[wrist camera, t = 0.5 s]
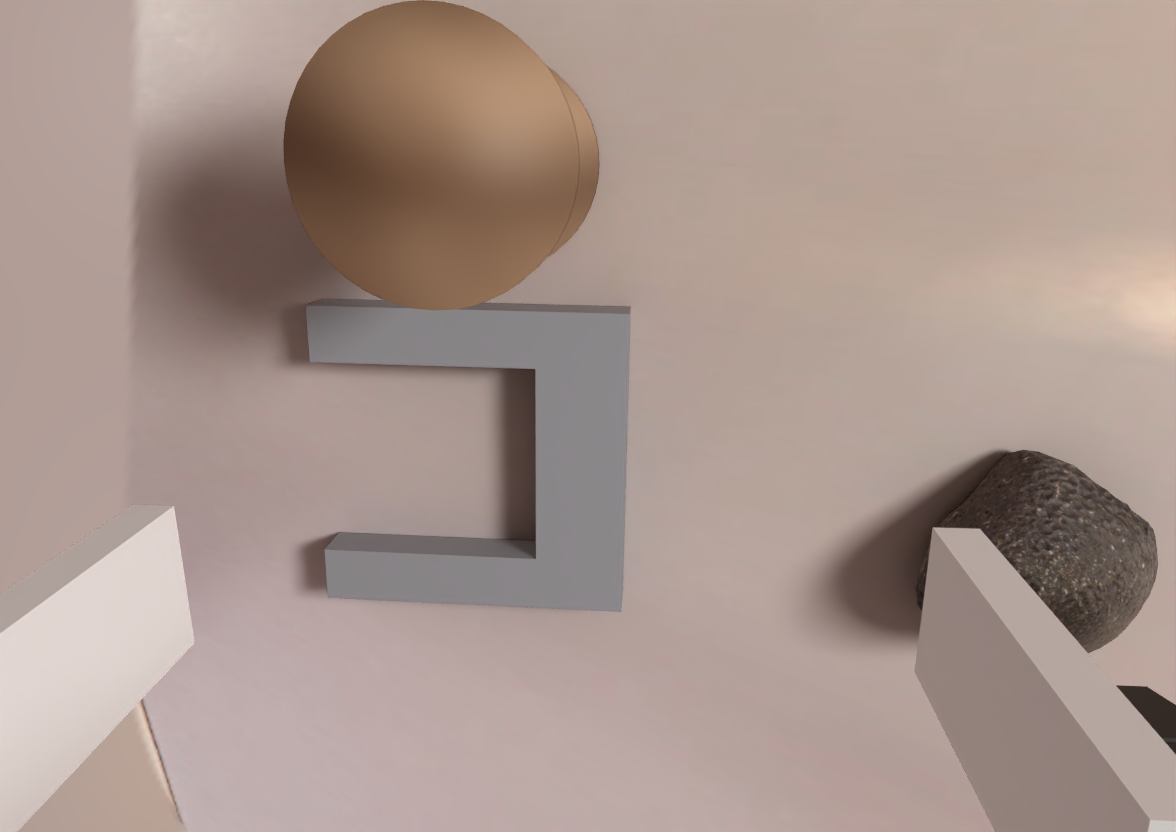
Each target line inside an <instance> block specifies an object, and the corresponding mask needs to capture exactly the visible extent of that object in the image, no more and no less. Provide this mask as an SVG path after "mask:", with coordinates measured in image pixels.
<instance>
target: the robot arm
mask: <svg viewBox="0 0 1176 832" xmlns="http://www.w3.org/2000/svg"><path fill="white" fill-rule="evenodd" d="M194 643H195V642H194V636H193V629H192V623H191V616H190V609H189V603H188V596H187V589H186V583H185V576H184V570H183V563H182V556H181V550H180V543H179V536H178V530H177V523H176V517H175V510H174V506H160V505H131V506H130V507H128V508H127V509H125V510H124V511H122V512H121V513H119V514H118V515H116V516H115V517H113V518H112V519H110V520H109V521H108V522H106V523H105V524H103V525H102V526H100V527H99V528H97V529H96V530H94V531H93V532H91V533H90V534H88V535H87V536H85V537H84V538H82V539H81V540H79V541H78V542H76V543H75V544H73V545H72V546H70V547H69V548H68V549H66V550H64V551H63V552H62V553H60V554H59V555H57V556H56V557H54V558H53V559H51V560H50V561H48V562H47V563H45V564H44V565H42V566H41V567H39V568H38V569H36V570H35V571H33V572H32V573H30V574H29V575H27V576H26V577H24V578H23V579H21V580H20V581H18V582H17V583H15V584H14V585H13V586H11V587H10V588H8V589H7V590H5V591H4V592H2V593H1V594H0V832H17V831H18V830H19V829H20V828H21V827H22V826H23V825H24V824H25V823H26V822H27V821H28V820H29V818H31V817H32V815H33V814H34V813H35V812H36V811H37V810H38V809H39V808H40V807H41V806H42V805H43V804H44V803H45V802H46V801H47V799H48V798H49V797H50V796H51V795H52V794H53V793H54V792H55V791H56V790H57V789H58V788H59V787H60V786H61V785H62V784H63V782H64V781H65V780H66V779H67V778H68V777H69V776H70V775H71V774H72V773H73V772H74V771H75V770H76V769H77V767H78V766H79V765H80V764H81V763H82V762H83V761H84V760H85V759H86V758H87V757H88V756H89V755H90V754H91V753H92V752H93V750H94V749H95V748H96V747H97V746H98V745H99V744H100V743H101V742H102V741H103V740H104V739H105V738H106V737H107V736H108V735H109V733H110V732H111V731H112V730H113V729H114V728H115V727H116V726H117V725H118V724H119V723H120V722H121V720H123V719H124V717H125V716H126V715H127V714H128V713H129V712H130V711H131V710H132V709H133V708H134V707H135V706H136V705H137V704H138V703H139V701H140V700H141V699H142V698H143V697H144V696H145V695H146V694H147V693H148V692H149V691H150V690H151V689H152V688H153V687H154V686H155V684H156V683H157V682H158V681H159V680H160V679H161V678H162V677H163V676H164V675H165V674H166V673H167V672H168V671H169V670H170V668H171V667H172V666H173V665H174V664H175V663H176V662H177V661H178V660H179V659H180V658H181V657H182V656H183V655H184V654H185V653H186V651H187V650H188V649H189V648H190V647H191V646H192V645H193V644H194ZM915 673H916V675H917V677H918V679H919V681H920V683H921V685H922V687H923V689H924V691H925V693H926V695H927V697H928V699H929V701H930V703H931V705H932V707H933V709H934V711H935V713H936V715H937V717H938V719H939V721H940V723H941V725H942V727H943V729H944V731H945V733H946V735H947V737H948V739H949V741H950V743H951V745H952V747H953V749H954V751H955V753H956V755H957V757H958V759H959V761H960V763H961V765H962V767H963V769H964V771H965V773H966V775H967V777H968V779H969V780H970V782H971V784H972V786H973V788H974V790H975V792H976V794H977V796H978V798H979V800H980V802H981V804H982V806H983V808H984V810H985V812H986V814H987V816H988V818H989V820H990V822H991V824H992V826H993V828H994V830H995V832H1176V705H1175V704H1173V703H1172V702H1170V701H1168V700H1167V699H1165V698H1164V697H1162V696H1161V695H1159V694H1157V693H1156V692H1154V691H1153V690H1151V689H1149V688H1148V687H1141V686H1116V685H1115V684H1114V683H1113V682H1112V680H1111V679H1110V678H1109V677H1108V676H1107V675H1106V674H1105V672H1104V671H1103V670H1102V669H1101V668H1100V667H1099V665H1098V664H1097V663H1096V662H1095V661H1094V660H1093V659H1092V657H1091V656H1090V655H1089V654H1088V653H1087V652H1086V650H1085V649H1084V648H1083V647H1082V646H1081V645H1080V644H1079V642H1078V641H1077V640H1076V639H1075V638H1074V637H1073V636H1072V634H1071V633H1070V632H1069V631H1068V630H1067V629H1066V627H1065V626H1064V625H1063V624H1062V623H1061V622H1060V621H1059V619H1058V618H1057V617H1056V616H1055V615H1054V614H1053V612H1052V611H1051V610H1050V609H1049V608H1048V607H1047V606H1046V604H1045V603H1044V602H1043V601H1042V600H1041V599H1040V597H1039V596H1038V595H1037V594H1036V593H1035V592H1034V591H1033V589H1032V588H1031V587H1030V586H1029V585H1028V584H1027V582H1026V581H1025V580H1024V579H1023V578H1022V577H1021V576H1020V574H1019V573H1018V572H1017V571H1016V570H1015V569H1014V568H1013V566H1012V565H1011V564H1010V563H1009V562H1008V561H1007V559H1006V558H1005V557H1004V556H1003V555H1002V554H1001V553H1000V551H999V550H998V549H997V548H996V547H995V546H994V544H993V543H992V542H991V541H990V540H989V539H988V538H987V536H986V535H985V534H984V533H983V532H982V531H981V529H971V528H935V527H933V528H932V536H931V544H930V552H929V561H928V569H927V577H926V585H925V593H924V601H923V609H922V617H921V625H920V633H919V641H918V649H917V657H916V665H915Z"/></svg>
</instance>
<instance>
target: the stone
mask: <svg viewBox="0 0 1176 832" xmlns="http://www.w3.org/2000/svg"><path fill="white" fill-rule="evenodd" d="M936 528H971V529H981V531H982V532H983V533H984V534H985V535H986V536H987V538H988V539H989V540H990V541H991V542H992V543H993V544H994V546H995V547H996V548H997V549H998V550H999V551H1000V553H1001V554H1002V555H1003V556H1004V557H1005V558H1006V559H1007V561H1008V562H1009V563H1010V564H1011V565H1012V566H1013V568H1014V569H1015V570H1016V571H1017V572H1018V573H1019V574H1020V576H1021V577H1022V578H1023V579H1024V580H1025V581H1026V582H1027V584H1028V585H1029V586H1030V587H1031V588H1032V589H1033V591H1034V592H1035V593H1036V594H1037V595H1038V596H1039V597H1040V599H1041V600H1042V601H1043V602H1044V603H1045V604H1046V606H1047V607H1048V608H1049V609H1050V610H1051V611H1052V612H1053V614H1054V615H1055V616H1056V617H1057V618H1058V619H1059V621H1060V622H1061V623H1062V624H1063V625H1064V626H1065V627H1066V629H1067V630H1068V631H1069V632H1070V633H1071V634H1072V636H1073V637H1074V638H1075V639H1076V640H1077V641H1078V642H1079V644H1080V645H1081V646H1082V647H1083V648H1084V649H1085V650H1086V652H1087V653H1090V652H1092V651H1094V650H1096V649H1099V648H1101V647H1102V646H1104V645H1106V644H1107V643H1109V642H1110V641H1112V640H1114V639H1115V638H1116V637H1117V636H1118V635H1119V634H1120V633H1122V632H1123V631H1124V630H1125V629H1126V627H1127V626H1128V625H1129V624H1130V623H1131V622H1132V620H1133V619H1134V618H1135V617H1136V616H1137V614H1138V613H1139V611H1140V610H1141V608H1142V606H1143V604H1144V602H1145V601H1146V600H1147V598H1148V597H1149V595H1150V592H1151V590H1152V587H1153V584H1154V582H1155V579H1156V573H1157V568H1158V557H1157V547H1156V539H1155V534H1154V531H1153V529H1152V528H1151V526H1150V525H1149V523H1148V522H1146V521H1145V520H1144V519H1143V518H1141V517H1140V516H1139V515H1137V514H1136V513H1134V512H1133V511H1131V509H1130V508H1129V506H1128V505H1127V504H1126V503H1123V502H1122V501H1120V500H1118V499H1117V498H1115V497H1114V496H1113V495H1112V494H1111V493H1109V492H1108V491H1107V490H1106V489H1104V488H1103V487H1101V486H1099V485H1098V484H1096V483H1095V482H1094V481H1093V480H1091V479H1090V478H1089V477H1088V476H1086V475H1085V474H1084V473H1083V472H1081V471H1080V470H1079V469H1078V468H1077V467H1075V466H1074V465H1071V464H1069V463H1066V462H1063V461H1061V460H1058V459H1056V458H1053V457H1051V456H1048V455H1045V454H1043V453H1040V452H1036V451H1028V450H1021V451H1017V452H1012V453H1008V454H1006V455H1005V456H1004V457H1003V458H1002V459H1001V460H1000V461H998V462H997V463H996V465H995V466H994V467H993V468H992V470H991V471H990V472H989V473H988V475H987V476H986V477H985V478H984V479H983V481H982V482H981V483H980V484H979V486H978V487H977V488H976V489H975V490H974V491H973V493H972V494H971V495H970V496H969V497H968V499H967V500H965V501H964V502H963V503H962V504H961V505H960V506H959V507H957V508H956V509H955V510H954V511H953V512H951V513H950V514H949V515H948V516H947V517H946V518H945V519H944V520H943V521H942V522H941V523H940V524H939V525H938V526H937V527H936ZM930 544H931V541H930ZM930 544H929V547H928V549H927V552H926V554H925V557H924V559H923V562H922V565H921V568H920V571H919V575H918V581H917V585H916V592H917V602H918V605H919V607H920V609H921V611H922V609H923V601H924V593H925V585H926V577H927V569H928V561H929V552H930Z"/></svg>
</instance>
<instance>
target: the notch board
mask: <svg viewBox="0 0 1176 832" xmlns="http://www.w3.org/2000/svg"><path fill="white" fill-rule="evenodd" d="M630 312H631V307H626V306H587V305H548V304H508V303H480V304H477V305H474V306H471V307H465V308H460V309H454V310H435V311H433V310H422V309H414V308H410V307H405V306H401V305H397V304H394V303H391V302H389V301H386V300H351V299H321V300H318V301H316V302H313V303H311V304H308V305H306V319H307V332H308V345H309V358H310V362H323V363H356V364H389V365H422V366H455V367H488V368H521V369H535V397H536V541H527V540H504V539H481V538H458V537H435V536H411V535H388V534H365V533H342V532H339V533H338V534H337V535H336V537H335V538H334V539H333V540H332V541H331V542H330V544H329V545H328V546H327V547H326V548H325V549H324V553H325V566H326V579H327V592H328V598H345V599H365V600H386V601H407V602H427V603H448V604H468V605H489V606H510V607H530V608H551V609H572V610H592V611H613V612H621V608H622V594H623V562H624V526H625V490H626V455H627V419H628V383H629V348H630Z"/></svg>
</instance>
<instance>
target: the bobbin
mask: <svg viewBox="0 0 1176 832" xmlns="http://www.w3.org/2000/svg"><path fill="white" fill-rule="evenodd" d="M284 164H285V172H286V179H287V183H288V187H289V191H290V195H291V198H292V201H293V204H294V206H295V209H296V211H297V214H298V216H299V219H300V221H301V223H302V224H303V226H304V228H305V230H306V232H307V234H308V235H309V237H310V238H311V240H312V241H313V243H314V244H315V246H316V247H317V248H318V250H319V251H320V252H321V254H322V255H323V256H324V257H325V258H326V259H327V260H328V261H329V262H330V264H331V265H332V266H333V267H334V268H335V269H337V270H338V271H339V272H340V273H341V274H342V275H343V276H345V277H346V278H347V279H348V280H350V281H351V282H353V283H354V284H356V285H357V286H358V287H360V288H361V289H363V290H365V291H367V292H369V293H370V294H372V295H374V296H376V297H378V298H380V299H383V300H386V301H389V302H391V303H394V304H397V305H401V306H405V307H410V308H414V309H422V310H433V311H435V310H454V309H460V308H465V307H471V306H474V305H477V304H480V303H483V302H486V301H489V300H491V299H493V298H495V297H497V296H499V295H501V294H504V293H505V292H507V291H508V290H510V289H511V288H513V287H514V286H516V285H517V284H519V283H520V282H521V281H522V280H524V279H525V278H526V277H527V276H528V275H529V274H531V273H532V272H533V271H534V270H535V269H536V268H537V267H538V266H539V265H540V264H541V263H542V262H543V261H544V260H545V259H546V258H547V257H548V256H550V255H551V254H553V253H554V252H556V251H557V250H558V249H559V248H560V247H561V246H562V245H564V244H565V243H566V242H567V241H568V240H569V239H570V238H571V237H572V236H573V234H574V233H575V232H576V231H577V230H578V228H579V227H580V225H581V224H582V222H583V221H584V219H585V217H586V215H587V213H588V211H589V209H590V207H591V205H592V202H593V199H594V196H595V193H596V188H597V183H598V176H599V150H598V144H597V138H596V134H595V131H594V128H593V124H592V122H591V119H590V117H589V115H588V113H587V111H586V109H585V107H584V105H583V104H582V102H581V100H580V99H579V97H578V96H577V95H576V93H575V92H574V91H573V90H572V88H571V87H570V86H569V85H568V84H567V83H566V82H565V81H564V80H563V79H562V78H561V77H560V76H559V75H558V74H557V73H556V72H554V71H553V70H552V69H550V68H549V67H547V66H546V65H545V64H544V62H543V61H542V60H541V59H540V57H539V56H538V55H537V54H536V53H535V52H534V51H533V50H532V49H531V48H530V47H529V46H528V45H527V44H526V43H524V42H523V41H522V40H521V39H520V38H519V37H518V36H517V35H516V34H514V33H513V32H512V31H510V30H509V29H507V28H506V27H505V26H503V25H502V24H501V23H499V22H497V21H495V20H493V19H491V18H490V17H488V16H486V15H484V14H482V13H479V12H477V11H474V10H471V9H469V8H466V7H463V6H459V5H455V4H450V3H446V2H438V1H424V0H421V1H407V2H400V3H395V4H391V5H386V6H382V7H380V8H377V9H375V10H372V11H369V12H367V13H364V14H363V15H361V16H359V17H357V18H356V19H354V20H352V21H350V22H348V23H347V24H346V25H344V26H343V27H342V28H340V29H339V30H338V31H337V32H335V33H334V34H333V35H332V36H331V37H330V38H329V39H328V40H327V41H326V42H325V43H324V44H323V45H322V46H321V47H320V48H319V49H318V50H317V52H316V53H315V54H314V56H313V57H312V59H311V60H310V61H309V63H308V64H307V66H306V67H305V69H304V71H303V73H302V75H301V77H300V79H299V80H298V82H297V85H296V87H295V90H294V93H293V95H292V98H291V101H290V105H289V109H288V113H287V117H286V123H285V132H284Z"/></svg>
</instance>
